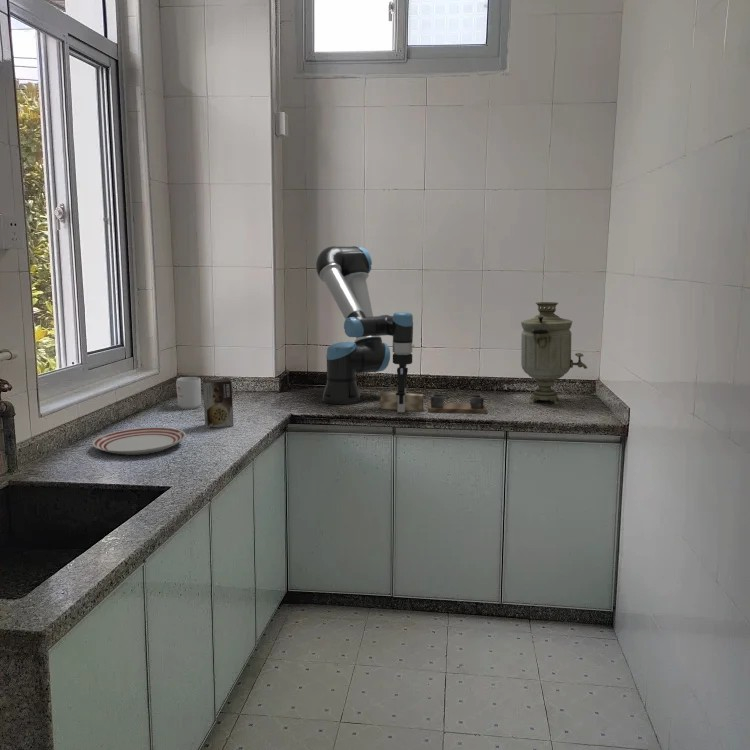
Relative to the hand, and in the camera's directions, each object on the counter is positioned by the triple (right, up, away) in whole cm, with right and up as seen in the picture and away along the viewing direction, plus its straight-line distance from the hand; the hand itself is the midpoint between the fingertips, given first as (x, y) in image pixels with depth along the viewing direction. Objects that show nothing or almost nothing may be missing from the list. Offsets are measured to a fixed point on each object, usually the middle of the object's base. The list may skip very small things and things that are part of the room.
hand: (401, 408), depth 276 cm
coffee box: (-65, -5, -27) cm, 70 cm away
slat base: (+21, -1, -2) cm, 21 cm away
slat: (0, 0, 0) cm, 0 cm away
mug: (-83, 0, +2) cm, 83 cm away
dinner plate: (-83, -10, -54) cm, 100 cm away
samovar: (+60, +2, +13) cm, 62 cm away
